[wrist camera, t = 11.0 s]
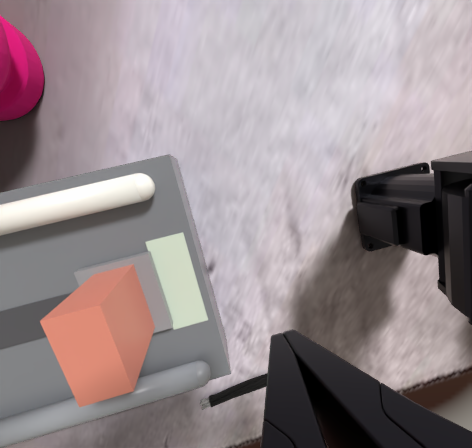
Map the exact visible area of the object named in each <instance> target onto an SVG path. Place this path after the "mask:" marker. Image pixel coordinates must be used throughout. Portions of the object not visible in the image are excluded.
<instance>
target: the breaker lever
mask: <svg viewBox="0 0 472 448" xmlns="http://www.w3.org/2000/svg"><path fill="white" fill-rule="evenodd" d="M74 275H75V277H76V280H77V282H78V284H79V288H77V289H76V290H75V291H74V292H73V293H72V294H70V295H69V296H68V297H67V298H66V299H65V300H64V301H62V302H61V303H60V304H59V305H58V306H57V307H55V308H54V309H53V310H52V311H51V312H50V313H49V314H47V315H46V316H45V317H44V318H43V319H42V320H41V321H40V323H41V325H42V327H43V330H44V332H45V334H46V336H47V338H48V340H49V343H50V345H51V347H52V349H53V351H54V353H55V356H56V358H57V360H58V362H59V364H60V367H61V369H62V371H63V373H64V375H65V377H66V380H67V382H68V384H69V386H70V388H71V390H72V393H73V395H74V397H75V399H76V401H77V404H78V406H79V407H83V406H86V405H89V404H93V403H96V402H99V401H103V400H106V399H109V398H113V397H116V396H119V395H123V394H126V393H129V392H133V391H134V389H135V386H136V383H137V380H138V377H139V374H140V371H141V368H142V365H143V362H144V359H145V356H146V353H147V350H148V347H149V344H150V341H151V338H152V335H153V333H156V332H159V331H163V330H166V329H170V328H172V327H173V320H172V317H171V314H170V310H169V307H168V304H167V301H166V298H165V295H164V292H163V289H162V286H161V283H160V280H159V276H158V273H157V270H156V267H155V264H154V261H153V258H152V255H151V252H150V251H148V252H144V253H140V254H136V255H132V256H128V257H124V258H120V259H117V260H113V261H109V262H105V263H101V264H97V265H93V266H89V267H85V268H81V269H78V270H77V271H76V272H74Z"/></svg>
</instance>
